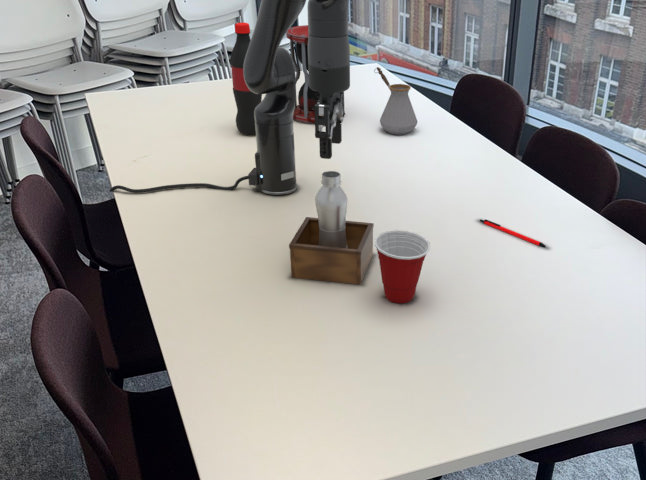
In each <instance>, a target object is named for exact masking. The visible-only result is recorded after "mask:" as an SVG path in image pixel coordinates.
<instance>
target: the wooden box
mask: <svg viewBox="0 0 646 480" xmlns="http://www.w3.org/2000/svg"><path fill="white" fill-rule="evenodd" d="M374 226H375V225H374V223H373V222H366V221H365V222H364V221H355V220H346V224H345V232H346V242H347V246H348V248H338V247H327V246H318V245H319V221H318V217H312V216H305V218H304V220H303V221H302V223H301V225H300V226H299V228H298V230H297V231H296V233H295V234H294V236H293V238H292V239H291V241H290V243H289V244H288V249H289V257H290V258H289V259H290V273H291V278H292V279H293V278H294V279H295V278H296V279H303V280H313V281H324V282H332V283H343V284H353V285H361V284H362V282H363V280H364V277H365V275H366V272H367V270H368V268H369V265H370V263H371V261H372V258H373V255H374Z"/></svg>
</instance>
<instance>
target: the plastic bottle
mask: <svg viewBox="0 0 646 480" xmlns="http://www.w3.org/2000/svg"><path fill="white" fill-rule="evenodd" d="M341 177H342V176H341V173H340V172H339V171H336V170H327V171H324V172H322V173H321V181H320V183H321V185H322V186H321V187H320V188H319V190H318V191H317V193H316V195H315V198H314V202H315V208H316V209H315V210H316V214H317V218H318V221H319V245H318V246H327V247H338V248H348V246H347V242H346V232H345V224H346V221H347V210H348V204H349V203H348V202H349V199H348V197H347V194H346V192H345V191H344V189H343V188H342V187H341V184H342V180H341Z"/></svg>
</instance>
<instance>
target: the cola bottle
mask: <svg viewBox="0 0 646 480" xmlns="http://www.w3.org/2000/svg"><path fill="white" fill-rule="evenodd" d="M234 33H235V34H236V38H235V43H234V45H233V49H232V51H231V54H230V57H229V64H230V69H231V79H232V80H231V81H232V92H233V98H234V101H235V106H236V110H237V111H236V115H235V125H236V128H237V130H238V132H239V133H240V134H241V135H244V136H250V137H251V136H252V137H253V136H256V130H255V118H254V110H255V108H256V106H257V105H258V104H259V103H260V102H261V101H262V100H263V99H262V98H263V97H262V96H263V94H255V93H253V92H251V91H250V90H249V89H248V87H247V85H246V83H245V80H244V75H243V66H244V60H245V56H246V53H247V50H248V47H249V44H250V41H251V36H250V34H251V27H250V24H249V23H248V22H237V23H235V25H234Z"/></svg>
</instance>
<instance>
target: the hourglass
mask: <svg viewBox="0 0 646 480" xmlns="http://www.w3.org/2000/svg"><path fill="white" fill-rule="evenodd" d="M308 34H309V33H308V24H305V25H297V26H291V27H290V29H289V30H288V31H287V33H286V34H285V36H286V38H287V39H288V40H289V44H290V46H289V47H290V55H291V57H292V60H293V63H294V67H295V79H296V84H297V82H298V81H299V79H300V77H301V74H302V73H303V74H304V75H303V76H304V82H303V83H302V85H301V86H300V88H299V90H298V94H297V88H296V89H295V100H296V102H295V109H294V112H293V121H296V122H300V123H304V124H312V125H313V124H314V125H315V109H314V106H315V104H317V102H318V100H320V93H318V92H317V91H313V90H312V89H311V88H310V87H309V72H308ZM295 53H296V57H297V60H298V61H299V63H300V64H301V68H302V73H301V69H300V66H299V65H298V63H297V61H296V58H295ZM297 96H298V97H297ZM297 100H298V101H297ZM297 102H298V103H297Z"/></svg>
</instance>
